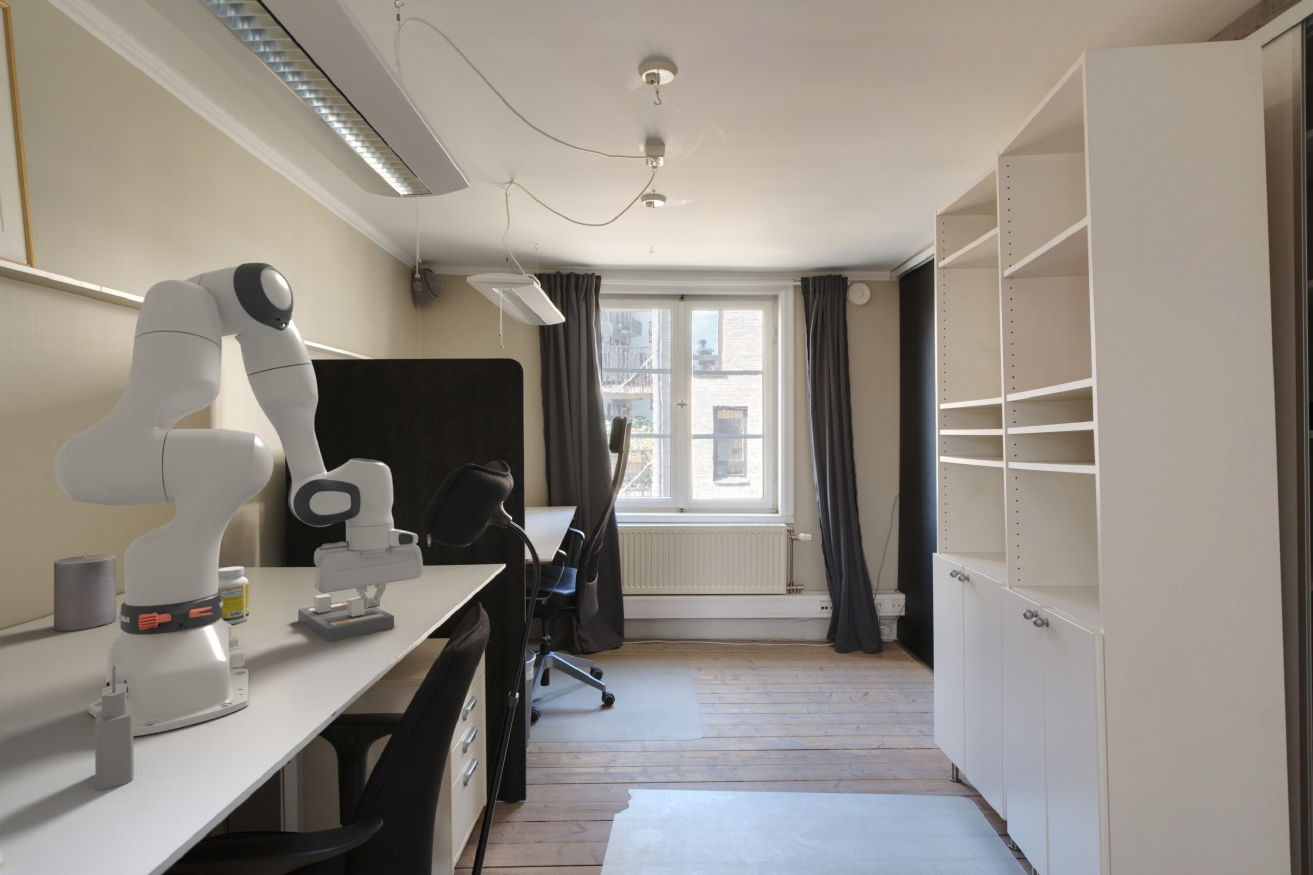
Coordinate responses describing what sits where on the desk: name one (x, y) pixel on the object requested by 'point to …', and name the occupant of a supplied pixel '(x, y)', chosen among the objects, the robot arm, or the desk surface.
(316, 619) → the switch housing
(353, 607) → the front slider
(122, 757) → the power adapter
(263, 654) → the desk surface
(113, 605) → the pillar candle
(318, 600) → the rear slider
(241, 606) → the pill bottle
